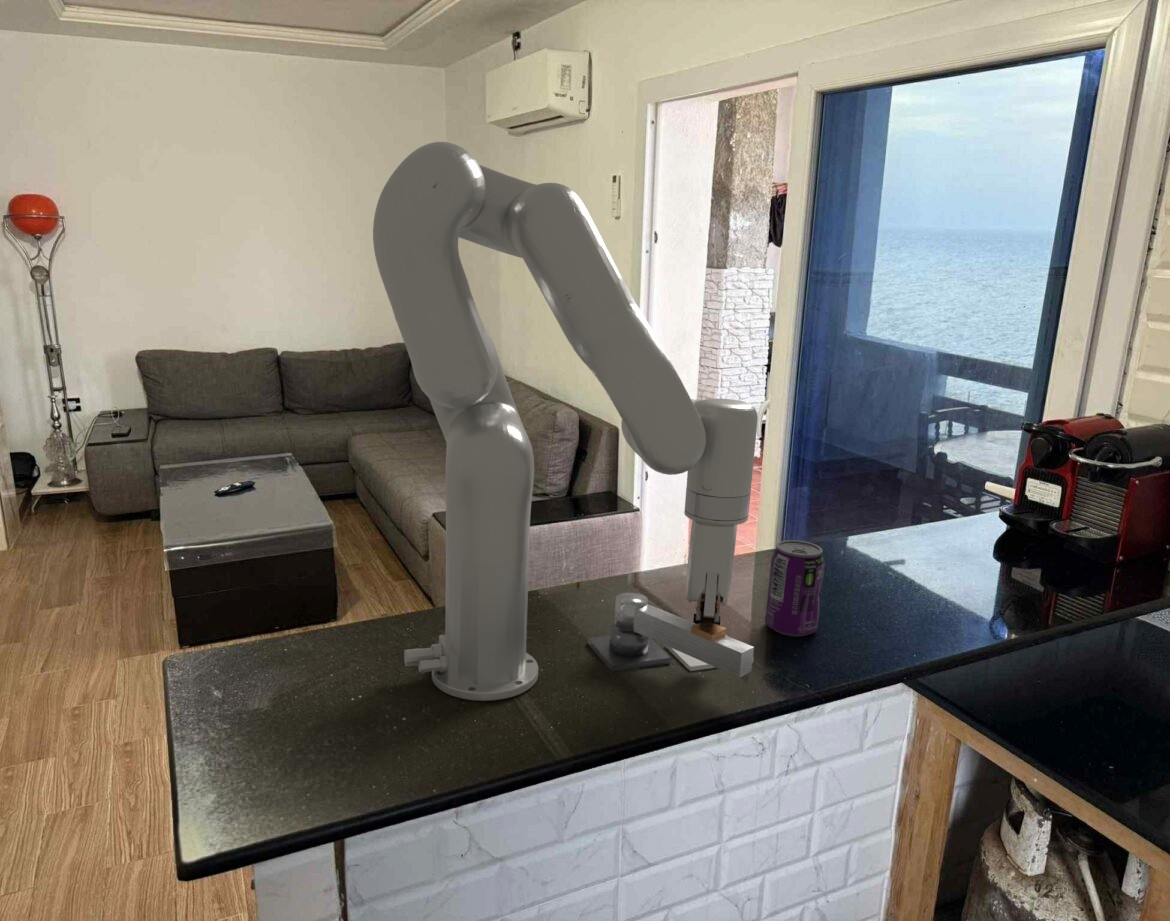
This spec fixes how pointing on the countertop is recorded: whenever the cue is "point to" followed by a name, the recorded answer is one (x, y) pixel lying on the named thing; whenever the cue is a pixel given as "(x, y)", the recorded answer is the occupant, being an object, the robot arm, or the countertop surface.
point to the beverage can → (795, 588)
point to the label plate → (690, 660)
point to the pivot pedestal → (628, 650)
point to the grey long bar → (683, 634)
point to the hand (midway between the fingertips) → (704, 646)
